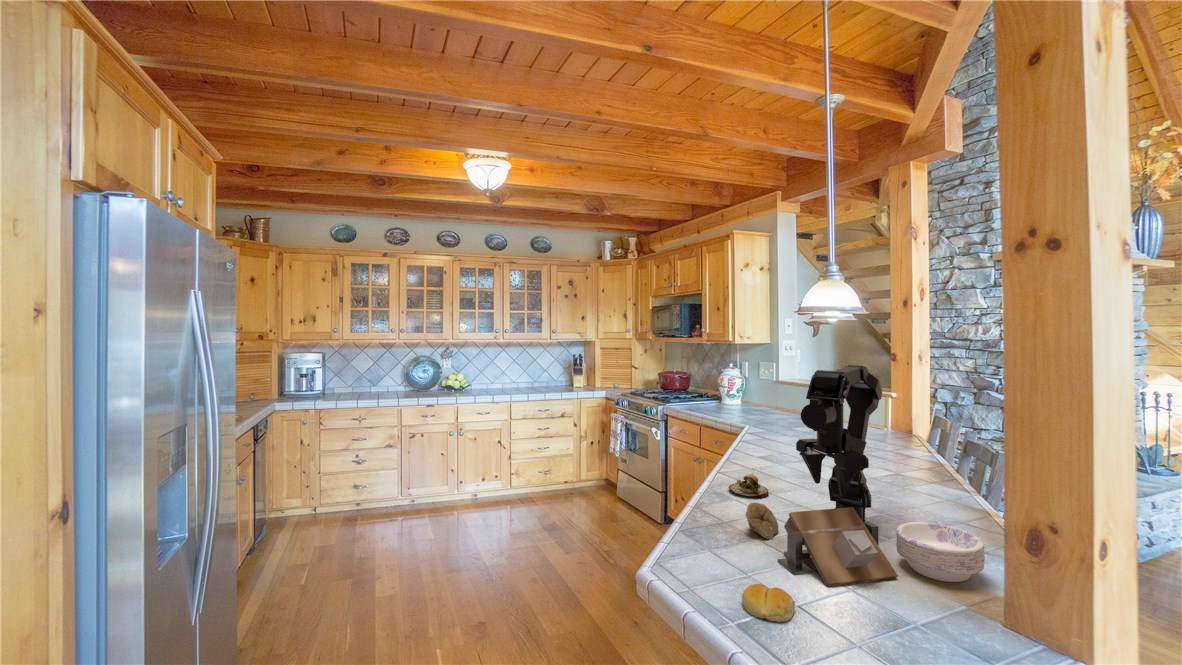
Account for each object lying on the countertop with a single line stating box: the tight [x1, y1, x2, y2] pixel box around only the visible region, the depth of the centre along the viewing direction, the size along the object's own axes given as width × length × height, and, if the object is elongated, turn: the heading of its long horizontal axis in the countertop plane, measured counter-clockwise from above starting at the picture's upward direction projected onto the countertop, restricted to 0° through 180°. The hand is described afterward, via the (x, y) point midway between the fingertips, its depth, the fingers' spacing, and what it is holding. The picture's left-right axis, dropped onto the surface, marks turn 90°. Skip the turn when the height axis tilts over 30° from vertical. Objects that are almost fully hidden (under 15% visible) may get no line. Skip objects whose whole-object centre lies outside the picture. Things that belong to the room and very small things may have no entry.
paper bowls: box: [895, 521, 986, 583], centre depth 106 cm, size 15×15×8 cm
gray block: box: [833, 530, 878, 568], centre depth 103 cm, size 5×5×6 cm
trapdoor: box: [783, 507, 899, 587], centre depth 109 cm, size 16×16×6 cm
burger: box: [728, 469, 770, 500], centre depth 157 cm, size 12×12×8 cm
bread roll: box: [741, 583, 796, 623], centre depth 92 cm, size 8×9×4 cm
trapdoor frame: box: [777, 520, 879, 576], centre depth 111 cm, size 23×8×8 cm, turn 102°
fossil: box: [745, 501, 779, 540], centre depth 127 cm, size 9×4×10 cm
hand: (829, 489), depth 120 cm, fingers open, 9 cm apart
